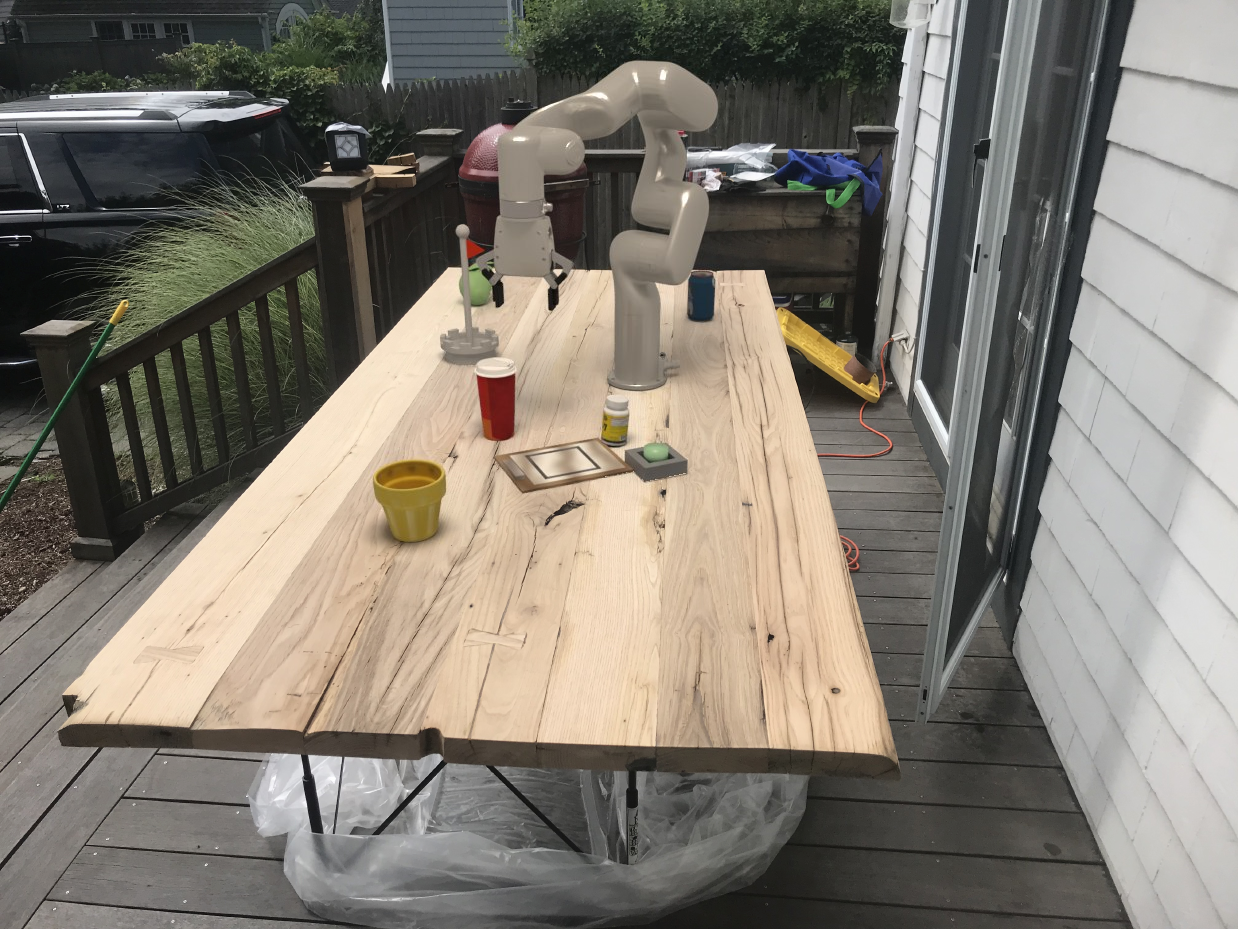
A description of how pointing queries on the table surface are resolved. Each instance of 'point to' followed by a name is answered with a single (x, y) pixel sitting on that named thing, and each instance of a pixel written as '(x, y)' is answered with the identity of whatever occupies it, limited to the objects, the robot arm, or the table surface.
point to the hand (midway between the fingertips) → (526, 307)
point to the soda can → (701, 296)
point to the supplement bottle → (615, 420)
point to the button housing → (656, 464)
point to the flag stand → (468, 318)
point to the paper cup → (497, 397)
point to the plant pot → (411, 497)
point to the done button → (655, 452)
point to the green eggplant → (477, 285)
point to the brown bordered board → (561, 464)
